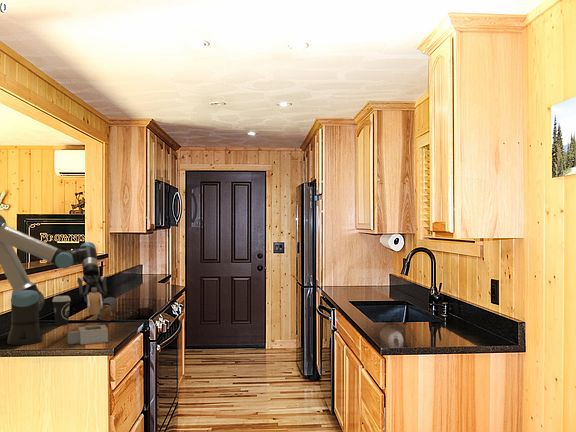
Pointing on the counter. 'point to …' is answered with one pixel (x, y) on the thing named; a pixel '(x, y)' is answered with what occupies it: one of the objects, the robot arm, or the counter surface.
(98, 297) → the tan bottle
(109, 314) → the tin
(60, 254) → the robot arm
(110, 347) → the counter surface
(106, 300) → the bluetooth speaker
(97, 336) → the motor housing
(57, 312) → the coffee cup
